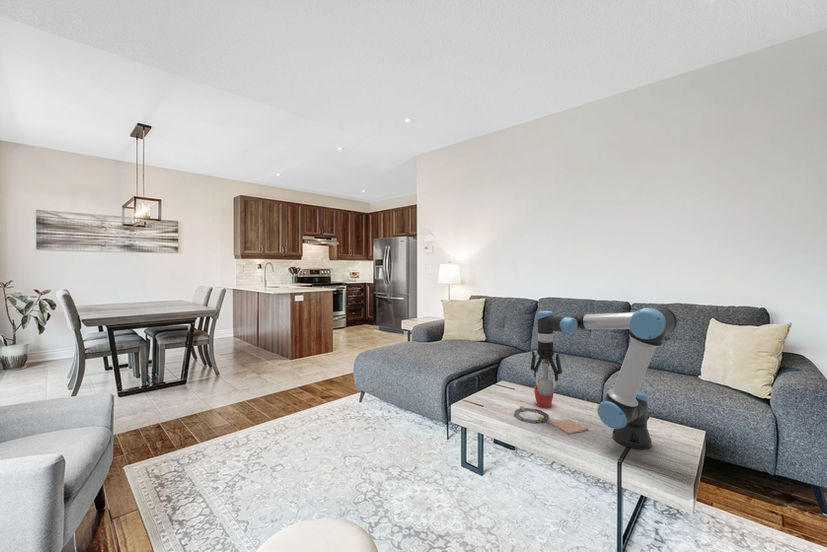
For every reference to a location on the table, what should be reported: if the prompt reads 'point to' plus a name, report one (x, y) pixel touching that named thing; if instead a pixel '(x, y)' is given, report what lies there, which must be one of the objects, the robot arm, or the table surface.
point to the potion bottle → (545, 381)
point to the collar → (540, 419)
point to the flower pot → (542, 399)
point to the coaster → (569, 426)
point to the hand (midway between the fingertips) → (546, 385)
